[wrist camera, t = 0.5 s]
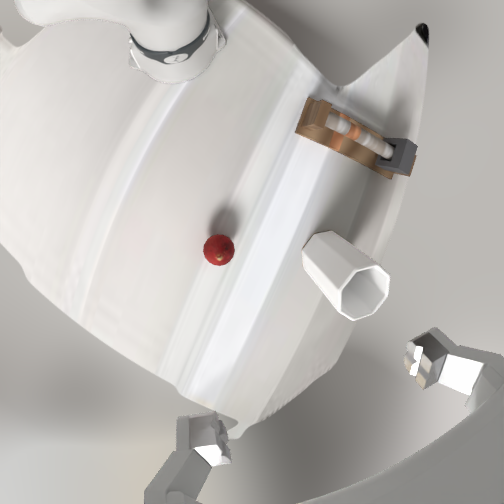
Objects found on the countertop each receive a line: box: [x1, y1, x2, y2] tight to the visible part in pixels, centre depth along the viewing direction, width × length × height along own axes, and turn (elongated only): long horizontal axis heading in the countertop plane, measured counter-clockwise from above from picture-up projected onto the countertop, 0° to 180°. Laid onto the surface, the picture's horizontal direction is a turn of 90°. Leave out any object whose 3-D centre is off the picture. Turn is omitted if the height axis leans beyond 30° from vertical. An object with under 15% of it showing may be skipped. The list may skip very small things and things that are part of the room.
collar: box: [375, 138, 418, 175], centre depth 47 cm, size 3×6×8 cm, turn 160°
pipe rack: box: [295, 97, 416, 179], centre depth 48 cm, size 25×8×8 cm, turn 71°
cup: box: [302, 231, 390, 321], centre depth 51 cm, size 11×11×18 cm
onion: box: [203, 234, 235, 266], centre depth 51 cm, size 6×6×8 cm
